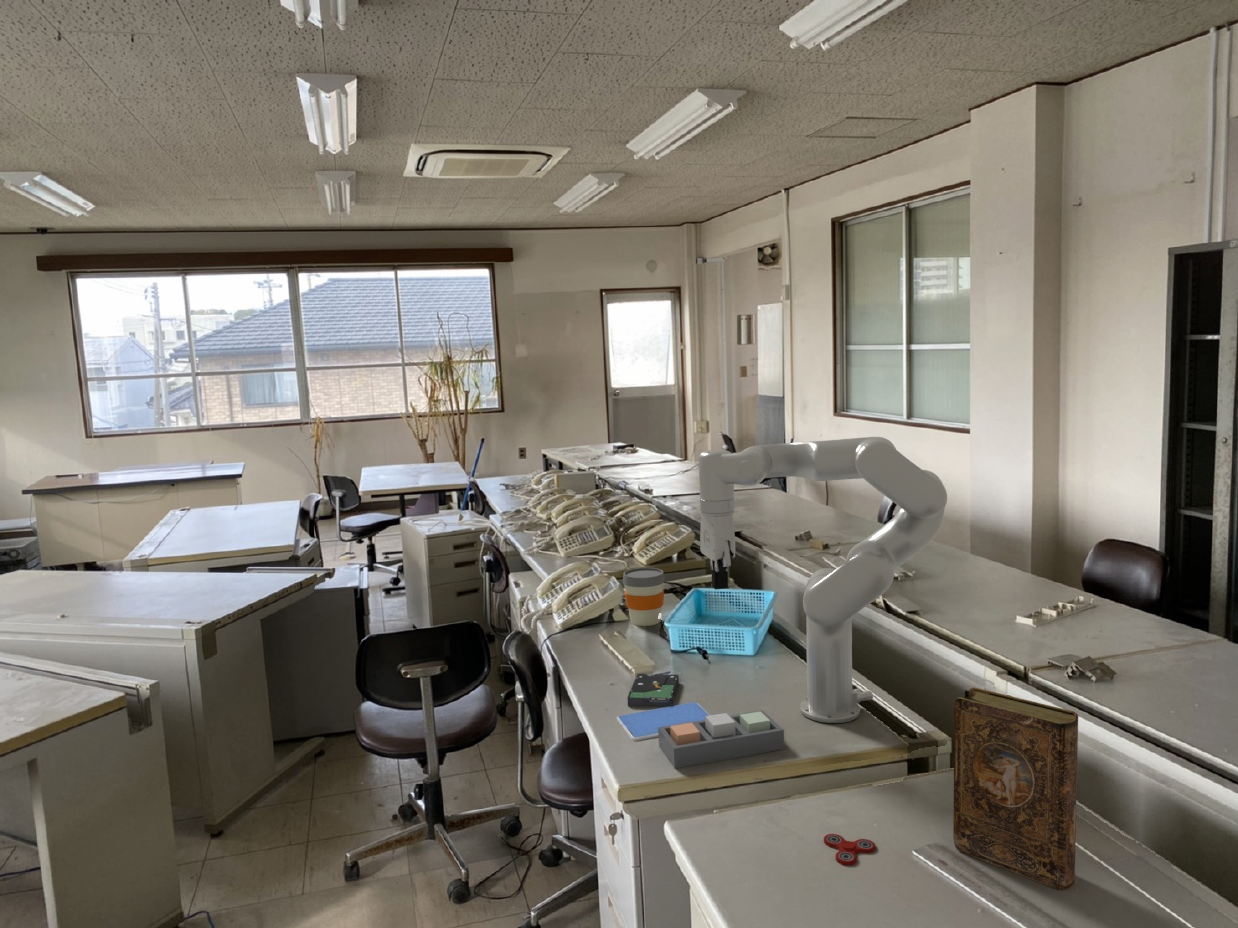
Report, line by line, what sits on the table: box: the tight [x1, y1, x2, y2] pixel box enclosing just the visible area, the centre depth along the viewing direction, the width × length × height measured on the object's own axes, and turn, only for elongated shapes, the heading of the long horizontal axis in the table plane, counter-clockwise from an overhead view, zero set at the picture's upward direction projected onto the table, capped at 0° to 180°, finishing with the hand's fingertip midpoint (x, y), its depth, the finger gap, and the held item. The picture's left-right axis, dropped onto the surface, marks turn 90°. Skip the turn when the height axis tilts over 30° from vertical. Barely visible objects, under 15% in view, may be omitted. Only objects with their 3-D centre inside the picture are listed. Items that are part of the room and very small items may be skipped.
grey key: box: [705, 712, 735, 738], centre depth 169 cm, size 5×5×2 cm
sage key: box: [740, 711, 770, 734], centre depth 171 cm, size 5×5×2 cm
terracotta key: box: [670, 723, 700, 746], centre depth 167 cm, size 5×5×2 cm
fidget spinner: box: [823, 833, 877, 867], centre depth 133 cm, size 8×7×1 cm
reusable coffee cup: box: [622, 567, 666, 627], centre depth 252 cm, size 13×13×15 cm
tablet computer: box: [616, 701, 711, 742], centre depth 182 cm, size 19×13×1 cm, turn 107°
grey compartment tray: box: [658, 710, 785, 769], centre depth 169 cm, size 23×10×4 cm, turn 105°
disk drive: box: [626, 673, 680, 708], centre depth 197 cm, size 10×3×15 cm
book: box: [952, 686, 1079, 891], centre depth 126 cm, size 16×6×25 cm, turn 45°
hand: (720, 587), depth 187 cm, fingers closed
